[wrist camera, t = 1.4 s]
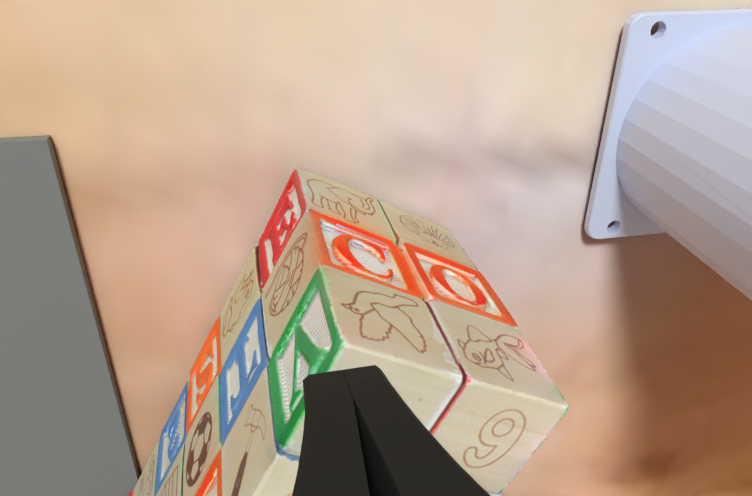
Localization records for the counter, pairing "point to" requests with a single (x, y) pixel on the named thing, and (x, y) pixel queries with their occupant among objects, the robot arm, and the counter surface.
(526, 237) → the counter surface
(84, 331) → the mat
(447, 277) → the stack of blocks
